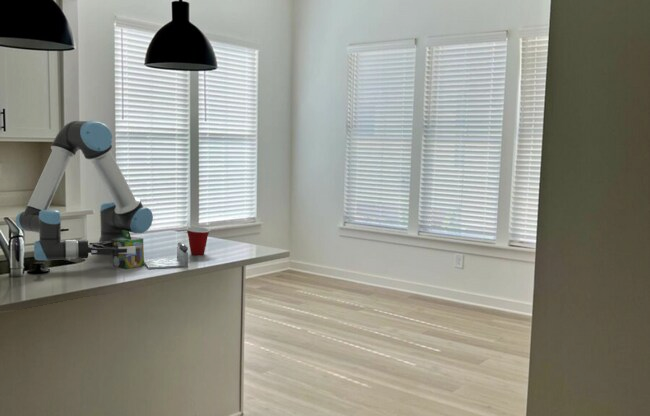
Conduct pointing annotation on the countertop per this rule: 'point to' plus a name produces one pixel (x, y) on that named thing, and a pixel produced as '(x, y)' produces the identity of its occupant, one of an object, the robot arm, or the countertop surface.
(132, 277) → the countertop surface
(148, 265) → the shaft seat
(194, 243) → the plastic cup
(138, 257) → the chalk box
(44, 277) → the countertop surface
